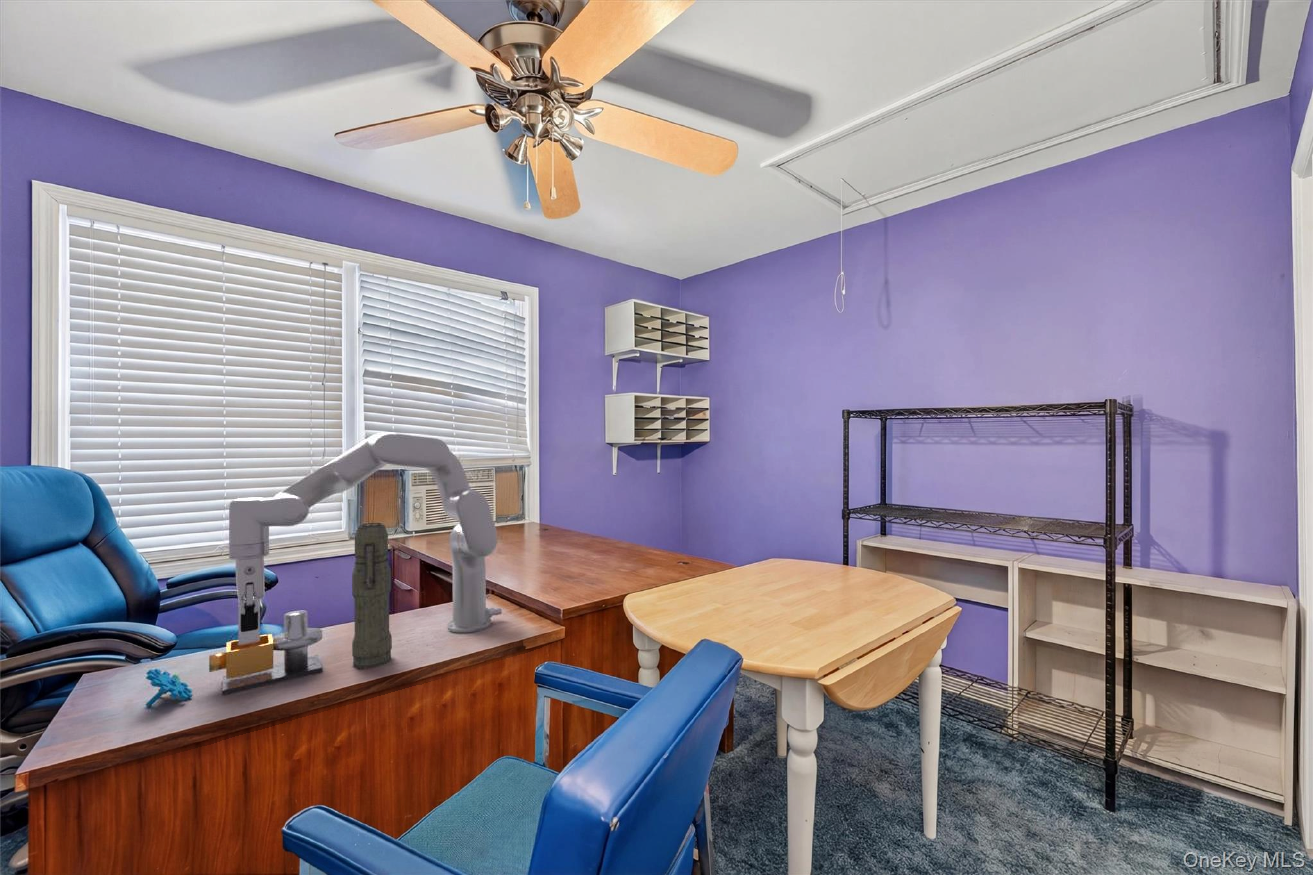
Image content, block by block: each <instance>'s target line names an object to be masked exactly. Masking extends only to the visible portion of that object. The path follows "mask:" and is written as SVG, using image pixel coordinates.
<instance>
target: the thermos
mask: <svg viewBox="0 0 1313 875" xmlns="http://www.w3.org/2000/svg"><path fill="white" fill-rule="evenodd" d="M388 553H389V534H388V531H387V528H386V525H385V524H382V523H380V522H370V523H363V524H361V525H358V526H357V529H356V532H355V535H354V557H355V561H354V567H353V570H352V574H351V586H352V587H351V588H352V590H351V593H352V597H353V600H354V602H353V604H354V636H353V639H352V646H351V647H352V648H351V652H352V657H353V661H352V667H354V668H356V669H371V668H376V667H379V666H383V665H385V664H387V663H389V662H391V660H392V645H393V641H392V640H393V638H392V636H393V635H392V633H391V630H390V593H391V591H392V569H391V567H390V564H389V558H388ZM388 661H389V662H388Z"/></svg>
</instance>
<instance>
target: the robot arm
mask: <svg viewBox="0 0 1313 875" xmlns="http://www.w3.org/2000/svg"><path fill="white" fill-rule="evenodd" d="M387 465H393V466H402V467H411V468H420V469H421V468H422V469H425V470H426V471H428V472H429V473H430V474H431V476H432V477H433V479H434V482H435V484H436V486H437V489H438V493H439V496H440V499H441V500H440V501H441V503H442V506H443V507H442V508H443V510H444V513H445V514H446V516H447V517H448V518H450V519H452V520H456V521H458V522H459V523H458V524H457V525H455V526H454V527H453V529H452V530H451V532H450V536H449V548H450V554H451V565H452V620H451V621H450V622H448V623H447V626H446V628H447V630H448V631H449V632H453V633H465V634H466V633H473V632H477V631H478V632H479V631H481V630H484V629H487V628H488V627H490V626H491V625H492V617H493V616H500V615H502V612H503V610H502V608H501V607H499V608H494V607H492V608H488V607H487V598H486V597H487V596H486V593H487V592H486V591H487V590H486V583H487V582H486V577H487V576H486V574H487V573H486V570H487V568H486V557H488V556H490V555H491V554H492V553H494V551H495V550H496V549H497V548H496V547H497V545H498V538H499V537H498V532H497V529H496V524H495V520H494V518H493V514H492V511H491V507H490V504H489V502H488V500H487V498H486V497H485V496H484V494H482V493H481V492H480V491H478V490H476V489H471V487H470V484H469V481H468V478H467V476H466V473H465V470H464V467H463V465H462V463H461V461H460V460H459V458H458V457H457V456H456V455H455V454H454V452H452V451H450V448H449V446H448V444H447V443H446V442H444V441H443V440H442V439H439V438H435V437H428V436H419V435H409V434H403V433H398V432H389V431H388V432H380V433H376V434H375V433H374V434H373V435H371V436H369V437H368V438H366V439H364V440H363V441H361V442H360V443H358V444H356V445H355V446H354V447H352V448H350V449H349V450H347V451H346V452H344V453H343V454H341V455H339V456H338V457H336V458H335V459H333V460H331V461H329V462H328V463H326V464H325V465H323V466H320V467H319V468H318V469H316V470H314V471H313V472H311V473H309V474H308V475H306V476H305V477H303V478H301V479H299V480H297V481H296V482H294V483H292V484H291V485H289V486H287V488H284V489H283V490H281V491H279V493H277V494H275V495H274V496H273V497H272V498H265V497H260V496H259V497H258V496H257V497H241V498H235V499H233V500H231V502H230V503H229V506H228V508H229V509H228V517H229V518H228V536H229V537H228V559H229V560H235V582H236V593H237V599H238V600H239V601H240V602H242V615H241V632H247V631H253V630H257V629H258V612H257V597H258V598H260V600H263V599H264V598H265V558H264V557H267V556H269V555H270V527H281V528H282V527H287V528H289V527H295V526H297V525H300V524H302V523H303V522H304V521H305V520H306V519H307V517H308V516H309V512H310V508H312V507H314V506H315V505H317V504H318V503H319V502H322V501H323V500H325V499H326V498H329V497H331V496H333V495H336V494H340V493H343V492H346V491H348V490H350V489H352V488H354V487H356V486H357V485H359V484H360V483H361V482H363V481H364V480H366V479H367V478H369V477H370V476H371V475H373V474H374V473H376V472H378V471H379V470H381V469H382V468H383V467H385V466H387ZM253 597H255V599H253ZM244 598H246V601H244ZM253 602H254V603H253ZM245 603H246V604H245Z"/></svg>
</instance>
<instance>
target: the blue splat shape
mask: <svg viewBox="0 0 1313 875" xmlns="http://www.w3.org/2000/svg"><path fill="white" fill-rule="evenodd" d="M146 675H147V676H146V677H145V679H146V680H147V681H150V682H149V683H150V685H151V686H152V687H157V688H159V689H158V692H156V694H154V696H153V697H152V698H151V699H149V700H148V701H147V702H146V703H145V706H147V707H148V708H150V707H151V706H153V705H154V704H155V703H156V702H157V701H158V700H159V699H160V698H161V697H162V696H163V695H166V694H168V693H170V694H169V695H168V696H169V697H171V698H172V699H176V698H177V697H178V699H179V700H180V701H186V700H190V699H191V698H192V697H193V694H192V693H193V689H192V688H189V685H188V683H187V682H185V681H184V682H182V681H181V678H180V676H179V675H178V674H176V673H174V675H172V676H170V675H171V673H170V672H169V671H166V670H165V671H163V672H162V670H160V669H158V668H155V669H149V670H148V671H147V672H146Z"/></svg>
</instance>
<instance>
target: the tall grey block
mask: <svg viewBox="0 0 1313 875" xmlns="http://www.w3.org/2000/svg"><path fill="white" fill-rule="evenodd" d="M253 599H255V597H253ZM244 601H246V598H244ZM253 603H254V602H253ZM245 604H246V603H245ZM237 605H238V606H237V610H238V611H237V612H238V614H237V615H238V619H237V623H238V624H237V628H238V630H237V631H238V632H237V634H238V635H237V638H238V639H237V640H238V646H240V645H245V644H250V643H256V642H260V636H261V598H258V597H257V612H258V629H257V630H253V631H247V632H241V615H242V602H240V601H239V600H238V604H237Z"/></svg>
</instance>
